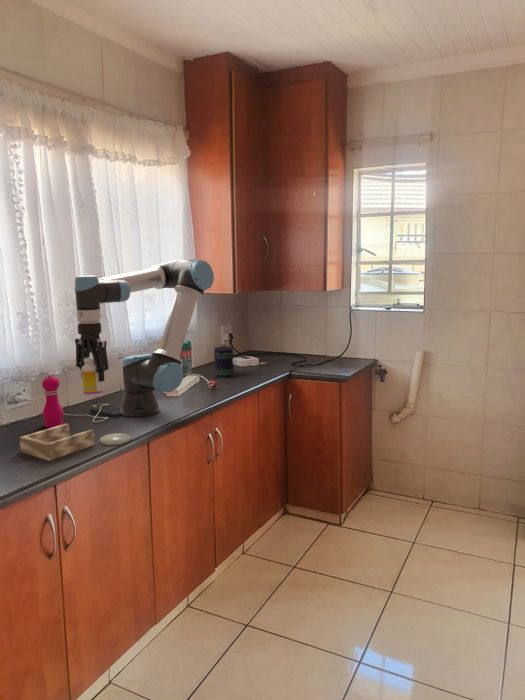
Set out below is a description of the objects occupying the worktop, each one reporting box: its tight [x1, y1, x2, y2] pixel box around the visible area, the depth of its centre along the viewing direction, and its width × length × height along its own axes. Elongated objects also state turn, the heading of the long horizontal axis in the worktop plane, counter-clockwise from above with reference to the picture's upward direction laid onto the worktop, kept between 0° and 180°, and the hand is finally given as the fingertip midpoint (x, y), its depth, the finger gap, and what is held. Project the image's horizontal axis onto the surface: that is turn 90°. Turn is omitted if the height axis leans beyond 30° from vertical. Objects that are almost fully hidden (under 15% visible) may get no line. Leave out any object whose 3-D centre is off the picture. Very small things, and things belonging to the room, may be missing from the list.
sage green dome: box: [99, 432, 132, 446], centre depth 188 cm, size 10×10×1 cm
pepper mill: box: [41, 372, 64, 429], centre depth 205 cm, size 7×7×20 cm
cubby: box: [19, 423, 96, 462], centre depth 181 cm, size 18×14×5 cm
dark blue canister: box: [213, 346, 234, 380], centre depth 287 cm, size 10×10×15 cm
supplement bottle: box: [80, 356, 104, 398], centre depth 188 cm, size 7×7×13 cm
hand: (93, 389), depth 189 cm, fingers closed on supplement bottle, 7 cm apart
